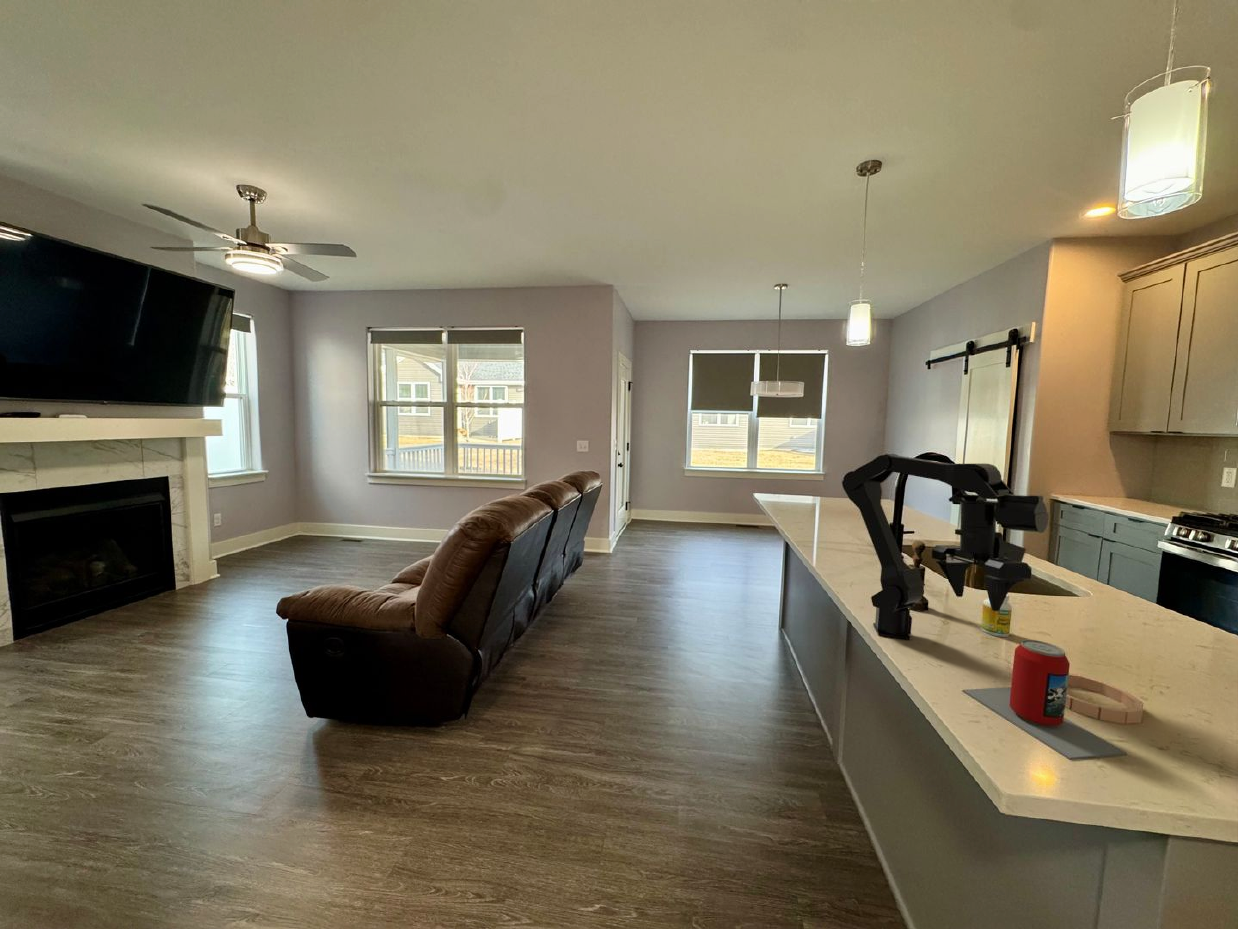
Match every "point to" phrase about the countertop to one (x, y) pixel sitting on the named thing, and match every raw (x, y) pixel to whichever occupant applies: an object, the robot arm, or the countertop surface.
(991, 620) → the supplement bottle
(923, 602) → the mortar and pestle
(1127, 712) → the segmented polygon ring
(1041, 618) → the countertop surface
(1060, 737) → the mat
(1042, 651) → the beverage can
